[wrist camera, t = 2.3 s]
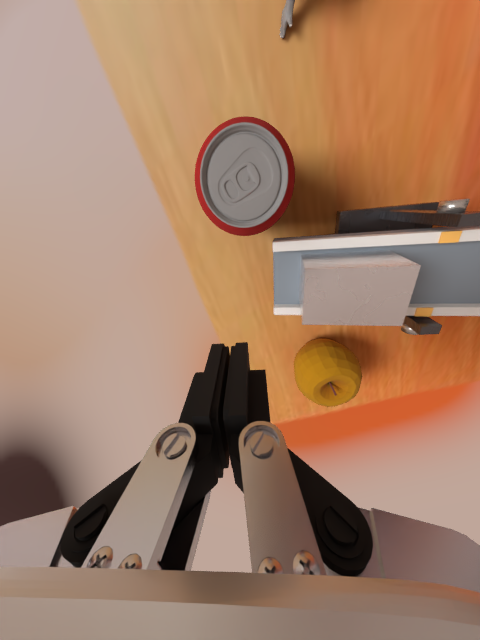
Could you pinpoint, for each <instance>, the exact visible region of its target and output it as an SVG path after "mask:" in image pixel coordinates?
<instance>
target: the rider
mask: <svg viewBox="0 0 480 640" xmlns="http://www.w3.org/2000/svg"><path fill="white" fill-rule="evenodd" d="M420 267H421V265H419V264H417V263H415V262H413V261H411V260H409V259H406V258H404V257H402V256H400V255H398V254H396V253H394V252H392V251H390V250H377V251H357V252H337V253H318V254H301V264H300V287H299V304H300V311H301V319H302V325H372V326H403V322H404V319H405V316H406V313H407V309H408V306H409V303H410V300H411V296H412V293H413V290H414V287H415V283H416V280H417V277H418V274H419V270H420Z"/></svg>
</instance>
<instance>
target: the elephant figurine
mask: <svg viewBox="0 0 480 640" xmlns="http://www.w3.org/2000/svg"><path fill="white" fill-rule="evenodd" d="M294 2H295V0H287V1H286V5H285V7H284V9H283V12H282V19H281V28H280V31H281V33H280V38H284V36H285V31H286V28H287V25H288V24H289V27H292V15H293V8H294Z"/></svg>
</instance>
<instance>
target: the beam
mask: <svg viewBox="0 0 480 640" xmlns="http://www.w3.org/2000/svg"><path fill="white" fill-rule="evenodd" d="M377 250H390V251H392V252H394V253H396V254H398V255H400V256H402V257H404V258H406V259H409V260H411V261H413V262H415V263H417V264H419V265H421V267H420V270H419V274H418V277H417V280H416V283H415V287H414V290H413V293H412V296H411V300H410V303H409V306H408V309H407V313H406V316H424V317H431V316H480V226H470V227H458V228H457V227H437V228H422V229H407V230H392V231H377V232H362V233H347V234H332V235H317V236H302V237H287V238H274V240H273V261H274V315H301V311H300V304H299V287H300V264H301V254H318V253H337V252H357V251H377Z"/></svg>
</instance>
